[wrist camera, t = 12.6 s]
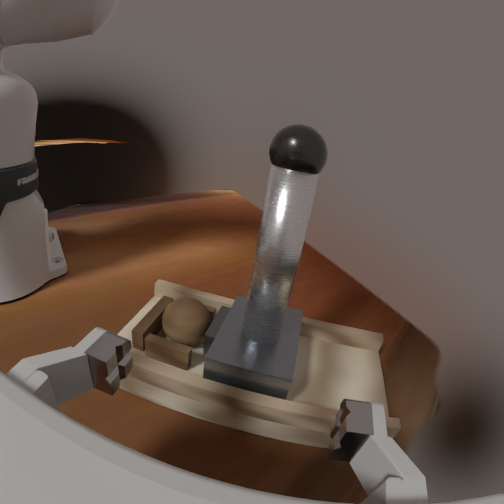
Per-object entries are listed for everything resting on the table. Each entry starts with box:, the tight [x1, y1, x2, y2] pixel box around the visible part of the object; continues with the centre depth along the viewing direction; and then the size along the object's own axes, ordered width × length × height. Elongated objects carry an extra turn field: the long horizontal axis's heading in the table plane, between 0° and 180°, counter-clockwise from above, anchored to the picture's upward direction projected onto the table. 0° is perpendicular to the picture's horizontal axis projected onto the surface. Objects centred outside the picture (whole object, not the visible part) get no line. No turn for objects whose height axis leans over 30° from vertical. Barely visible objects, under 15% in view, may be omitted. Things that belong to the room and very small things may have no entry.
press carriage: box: [202, 124, 327, 400], centre depth 22 cm, size 7×9×18 cm
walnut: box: [162, 297, 211, 346], centre depth 25 cm, size 4×4×4 cm
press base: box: [117, 279, 401, 449], centre depth 25 cm, size 23×12×4 cm, turn 78°
